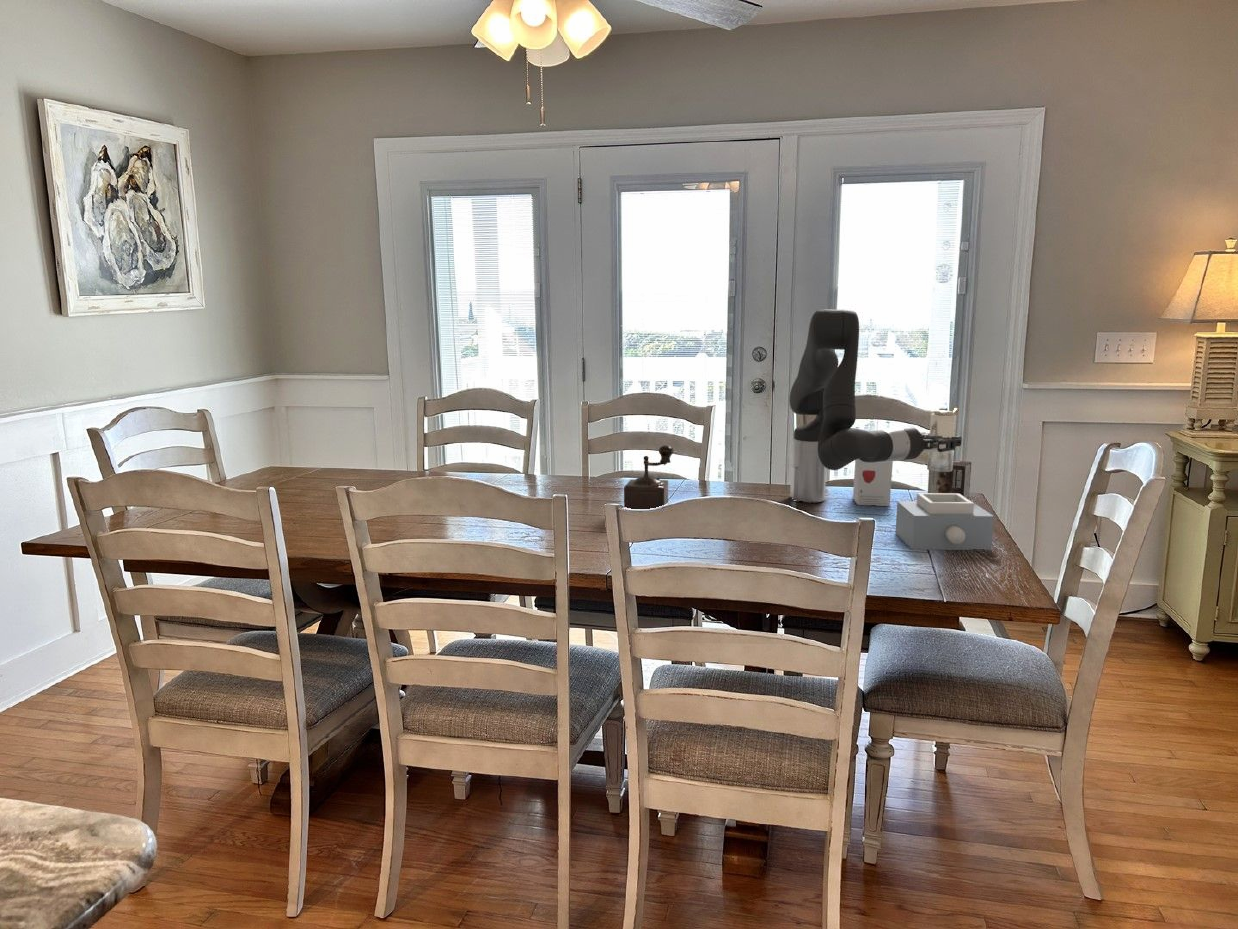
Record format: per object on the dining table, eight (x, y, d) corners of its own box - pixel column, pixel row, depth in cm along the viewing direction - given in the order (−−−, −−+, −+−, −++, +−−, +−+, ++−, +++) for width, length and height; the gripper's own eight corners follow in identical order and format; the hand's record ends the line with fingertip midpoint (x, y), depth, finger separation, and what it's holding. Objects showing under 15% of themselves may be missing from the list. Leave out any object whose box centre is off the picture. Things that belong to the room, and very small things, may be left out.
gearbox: (916, 553, 207) (919, 508, 205) (895, 533, 224) (898, 491, 222) (996, 554, 207) (1000, 508, 205) (969, 533, 224) (972, 491, 222)
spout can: (940, 472, 211) (945, 411, 209) (921, 468, 216) (926, 408, 214) (963, 470, 215) (968, 409, 212) (944, 466, 220) (948, 406, 217)
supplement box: (856, 505, 252) (859, 452, 249) (852, 498, 260) (855, 446, 257) (890, 506, 251) (893, 452, 248) (885, 499, 259) (888, 446, 256)
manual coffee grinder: (665, 525, 232) (666, 454, 228) (622, 522, 234) (623, 453, 230) (673, 510, 247) (674, 444, 243) (633, 508, 249) (633, 442, 245)
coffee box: (967, 524, 233) (972, 461, 229) (961, 529, 227) (966, 465, 224) (931, 519, 238) (935, 457, 234) (924, 524, 232) (928, 461, 229)
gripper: (922, 432, 200) (976, 427, 208) (874, 423, 213) (927, 419, 221) (919, 465, 202) (973, 459, 210) (872, 455, 214) (925, 450, 222)
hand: (949, 439), depth 215 cm, fingers closed on spout can, 5 cm apart
